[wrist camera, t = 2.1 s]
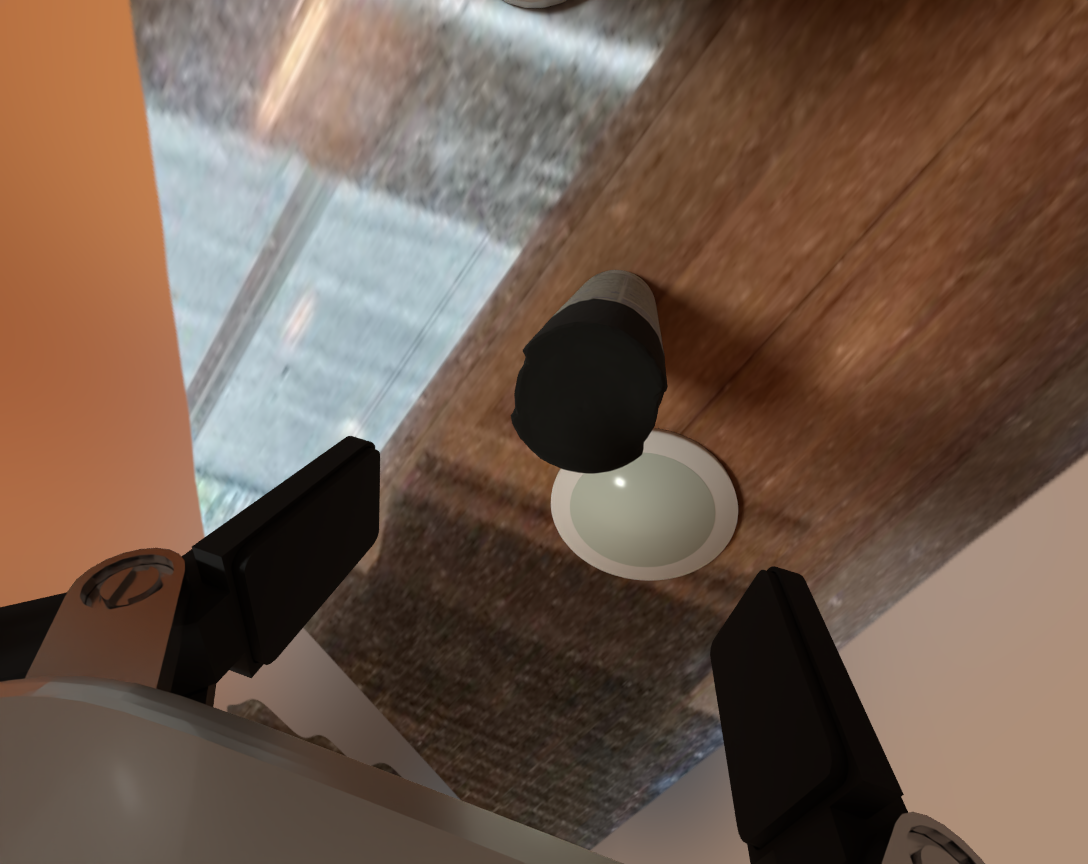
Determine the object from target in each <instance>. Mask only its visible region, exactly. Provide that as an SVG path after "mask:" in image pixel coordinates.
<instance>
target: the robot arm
mask: <svg viewBox="0 0 1088 864" xmlns="http://www.w3.org/2000/svg"><path fill="white" fill-rule="evenodd" d="M503 1H505V2H507V3H510V4H513V5H517V6H521V7H524V8H545V7H549V6H552V5H556V4H560V3H563V2H565V1H567V0H503ZM379 498H380V453H379V451H378V450H375V445H374V444H373V443H372V442H369V441H366V440H363V439H360V438H356V437H353V436H348V437H346V438H344V439H343V440H341V441H340V442H339V443H337V444H336V445H334V446H333V447H332V448H330V449H329V450H327V451H326V452H325V453H323V454H322V455H320V456H319V457H317V458H316V459H315V460H313V461H312V462H310V463H309V464H308V465H306V466H305V467H303V468H302V469H301V470H299V471H298V472H296V473H295V474H294V475H292V476H291V477H289V478H288V479H286V480H285V481H284V482H282V483H281V484H279V485H278V486H277V487H275V488H274V489H272V490H271V491H270V492H268V493H267V494H265V495H264V496H263V497H261V498H260V499H258V500H257V501H255V502H254V503H253V504H251V505H250V506H248V507H247V508H246V509H244V510H243V511H241V512H240V513H239V514H237V515H236V516H234V517H233V518H232V519H230V520H229V521H227V522H226V523H224V524H223V525H222V526H220V527H219V528H217V529H216V530H215V531H213V532H212V533H210V534H209V535H208V536H206V537H205V538H203V539H202V540H201V541H199V542H198V543H196V544H195V545H194V546H192V549H191V550H190V551H189V552H187V553H186V554H185V555H183V556H182V557H181V556H180V555H179V554H178V553H176V552H174V551H172V550H169V549H161V548H148V549H139V550H135V551H130V552H126V553H122V554H120V555H117V556H114V557H112V558H109V559H107V560H105V561H103V562H101V563H99V564H97V565H96V566H94V567H92V568H90V569H89V570H88V571H86V572H85V573H84V574H83V575H81V576H80V577H79V578H78V579H76V581H75V582H74V583H73V585H72V586H71V587H70V589H69V590H68V592H67V593H63V594H58V595H54V596H49V597H45V598H40V599H36V600H31V601H27V602H22V603H18V604H13V605H9V606H5V607H0V864H623V863H620V862H617V861H615V860H613V859H610V858H607V857H605V856H602V855H600V854H597V853H595V852H592V851H590V850H587V849H584V848H582V847H579V846H577V845H574V844H572V843H569V842H567V841H564V840H562V839H559V838H556V837H554V836H551V835H549V834H546V833H543V832H541V831H538V830H536V829H533V828H531V827H528V826H525V825H523V824H520V823H518V822H515V821H512V820H510V819H507V818H505V817H502V816H500V815H497V814H494V813H492V812H489V811H487V810H484V809H481V808H479V807H476V806H474V805H471V804H468V803H466V802H463V801H461V800H458V799H455V798H453V797H450V796H448V795H445V794H442V793H440V792H437V791H435V790H432V789H430V788H427V787H424V786H422V785H419V784H417V783H414V782H411V781H409V780H406V779H404V778H401V777H398V776H396V775H393V774H391V773H388V772H385V771H383V770H380V769H377V768H375V767H372V766H370V765H367V764H364V763H362V762H359V761H356V760H354V759H351V758H349V757H346V756H343V755H341V754H338V753H335V752H333V751H330V750H327V749H325V748H322V747H320V746H317V745H314V744H312V743H309V742H306V741H304V740H301V739H299V738H296V737H293V736H291V735H288V734H285V733H283V732H280V731H277V730H275V729H272V728H270V727H267V726H264V725H262V724H259V723H256V722H253V721H250V720H248V719H245V718H242V717H239V716H236V715H233V714H231V713H228V712H225V711H222V710H219V709H217V708H214V707H213V704H214V697H215V689H216V683H217V682H218V681H219V680H220V679H221V678H222V677H223V676H224V675H225V674H226V673H227V671H228V670H231V671H233V672H236V673H239V674H241V675H244V676H247V677H249V678H252V677H253V676H254V675H255V673H256V672H257V671H258V670H259V669H260V668H261V667H262V665H263V664H265V665H268V664H271V663H272V662H273V661H274V660H276V659H277V657H278V656H279V655H280V654H281V653H282V652H283V650H284V649H285V648H286V647H287V646H288V644H289V643H290V642H291V641H292V640H293V639H294V637H295V636H296V635H297V634H298V633H299V631H300V630H301V629H302V628H303V627H304V626H305V625H306V623H307V622H308V621H309V620H310V619H311V617H312V616H313V615H314V614H315V613H316V612H317V610H318V609H319V608H320V607H321V606H322V604H323V603H324V602H325V601H326V600H327V599H328V597H329V596H330V595H331V594H332V593H333V591H334V590H335V589H336V588H337V587H338V586H339V584H340V583H341V582H342V581H343V580H344V579H345V577H346V576H347V575H348V574H349V573H350V571H351V570H352V569H353V568H354V567H355V566H356V564H357V563H358V562H359V561H360V560H361V558H362V557H363V556H364V555H365V554H366V553H367V551H368V550H369V549H370V548H371V547H372V545H373V544H374V543H375V541H376V539H377V537H378V533H379ZM710 656H711V664H712V670H713V676H714V683H715V689H716V695H717V702H718V708H719V714H720V721H721V727H722V733H723V740H724V746H725V752H726V759H727V765H728V771H729V778H730V784H731V791H732V797H733V803H734V809H735V816H736V822H737V827H738V832H739V835H740V837H741V839H742V841H743V842H745V843H747V845H748V851H749V857H750V863H751V864H985V863H984V862H983V861H982V859H981V858H980V857H979V856H978V855H977V854H976V853H975V852H974V851H973V850H972V849H971V848H970V847H969V846H968V845H967V844H966V843H965V842H964V841H963V840H962V839H961V838H960V837H959V836H957V835H956V834H955V833H953V832H952V831H951V830H950V829H948V828H947V827H946V826H945V825H943V824H941V823H940V822H937V821H936V820H934V819H932V818H931V817H928V816H927V815H923V814H919V813H915V812H910V813H908V811H907V809H906V807H905V804H904V802H903V800H902V798H901V796H902V795H904V794H903V792H902V790H901V788H900V786H899V783H898V781H897V779H896V777H895V775H894V773H893V770H892V768H891V766H890V764H889V762H888V760H887V757H886V755H885V753H884V751H883V749H882V746H881V744H880V742H879V740H878V738H877V736H876V733H875V731H874V729H873V727H872V725H871V723H870V720H869V718H868V716H867V714H866V712H865V709H864V707H863V705H862V703H861V701H860V699H859V697H858V694H857V692H856V690H855V688H854V686H853V684H852V681H851V679H850V677H849V675H848V673H847V670H846V668H845V666H844V664H843V662H842V659H841V657H840V655H839V653H838V651H837V649H836V646H835V644H834V642H833V640H832V638H831V635H830V633H829V631H828V629H827V627H826V625H825V622H824V620H823V618H822V616H821V614H820V612H819V609H818V607H817V605H816V603H815V601H814V598H813V596H812V594H811V592H810V590H809V588H808V585H807V583H806V581H805V579H804V578H803V576H801V575H800V574H798V573H794V572H791V571H788V570H785V569H781V568H778V567H773V566H772V567H770V568H769V569H768V570H767V571H766V570H761V571H760V572H759V573H758V574H757V575H756V577H755V578H754V580H753V582H752V583H751V585H750V586H749V588H748V589H747V591H746V592H745V594H744V595H743V597H742V598H741V600H740V601H739V603H738V604H737V606H736V607H735V609H734V610H733V612H732V613H731V615H730V616H729V618H728V619H727V621H726V622H725V624H724V625H723V627H722V628H721V630H720V631H719V633H718V634H717V636H716V637H715V639H714V640H713V642H712V645H711V651H710Z"/></svg>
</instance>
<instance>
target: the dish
mask: <svg viewBox="0 0 1088 864" xmlns="http://www.w3.org/2000/svg"><path fill="white" fill-rule="evenodd" d="M551 510H552V516H553V519H554V523H555V525H556V528H557V530H558V532H559V534H560V535H561V537H562V538H563V540H564V541H565V543H566V544H567V545H568V546H569V547H570V548H571V549H572V550H573V551H574V552H575V553H576V554H577V555H578V556H579V557H581V558H582V559H583V560H584V561H586V562H588V563H589V564H591V565H592V566H594V567H596V568H598V569H600V570H602V571H605V572H607V573H610V574H613V575H616V576H620V577H624V578H629V579H635V580H663V579H670V578H675V577H679V576H682V575H686V574H689V573H691V572H693V571H696V570H698V569H700V568H701V567H703V566H705V565H706V564H708V563H710V562H711V561H712V560H713V559H715V558H716V557H717V556H718V555H719V554H720V553H721V552H722V551H723V550H724V548H725V547H726V546H727V544H728V543H729V541H730V540H731V538H732V536H733V533H734V531H735V528H736V524H737V519H738V501H737V497H736V493H735V490H734V487H733V484H732V482H731V479H730V477H729V475H728V473H727V471H726V470H725V468H724V467H723V465H722V464H721V463H720V462H719V460H718V459H717V458H716V457H715V456H714V455H713V454H712V453H711V452H709V451H708V450H707V449H706V448H705V447H703V446H701V445H700V444H698V443H697V442H695V441H693V440H691V439H689V438H687V437H685V436H683V435H680V434H677V433H674V432H672V431H667V430H663V429H658V428H653V430H652V431H651V433H650V435H649V436H648V438H647V439H646V440H645V442H644V450H643V454H642V455H641V456H640V457H639V458H637V459H636V460H635V461H633V462H631V463H629V464H628V465H626V466H624V467H622V468H619V469H616V470H613V471H609V472H603V473H596V474H586V473H577V472H572V471H567V470H564V469H561V468H560V470H559V472H558V474H557V477H556V480H555V483H554V486H553V490H552V495H551Z"/></svg>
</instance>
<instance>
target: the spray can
mask: <svg viewBox="0 0 1088 864" xmlns="http://www.w3.org/2000/svg"><path fill="white" fill-rule="evenodd" d="M523 352H524V354H525V356H526V358H525V361H524V365H523V367H522V368H521V370H520V371H519V374H518V377H517V383H516V388H515V409H514V411H513V413H512V414H511V419H512V424H513V426H514V428H515V430H516V431H517V433H518V435H519V437H520V439H522V440H523V441H524V443H525V444H526V445H527V446H528V447H529V448H530V449H531V450H532V451H533V452H534V453H535V454H536V455H537V456H538V457H540V458H541V459H542V460H544V461H546V462H548V463H550V464H552V465H555V466H557V467H559V468H561V469H564V470H567V471H572V472H577V473H586V474H596V473H603V472H609V471H613V470H616V469H619V468H622V467H624V466H626V465H628V464H629V463H631V462H633V461H635V460H636V459H637V458H639V457H640V456H641V455H642V454H643V450H644V442H645V440H646V439H647V438H648V436H649V435H650V433H651V431H652V430H653V428H654V426H655V422H656V419H657V414H658V408H659V405H660V403H661V401H662V398H663V395H664V392H666V390H667V378H666V369H665V356H664V350H663V345H662V338H661V332H660V327H659V320H658V314H657V308H656V302H655V298H654V295H653V293H652V291H651V289H650V288H649V286H648V285H647V284H646V283H645V282H644V281H643V280H642V279H641V278H640V277H638V276H636V275H635V274H633V273H630V272H627V271H622V270H610V271H606V272H602V273H600V274H597V275H595V276H594V277H592V278H591V279H590V280H588V281H587V282H586V283H585V284H584V285H583V286H582V287H581V288H580V289H579V290H578V291H577V292H576V293H575V294H574V295H573V296H572V297H571V298H570V299H569V301H568V302H567V303H565V304H564V306H563V307H562V308H561V309H560V310H558V312H557V313H556V314H555V315H554V316H553V317H552V318H551V319H550V320H549V321H548V322H547V323H546V324H545V326H544V327H543V328H542V329H541V330H540V331H539V332H538V333H537V334H536V335H535V336H534V337H533V339H532V340H531V341H530V342H529V343H528V344H527V345H526V346H525V348H524V349H523Z"/></svg>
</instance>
